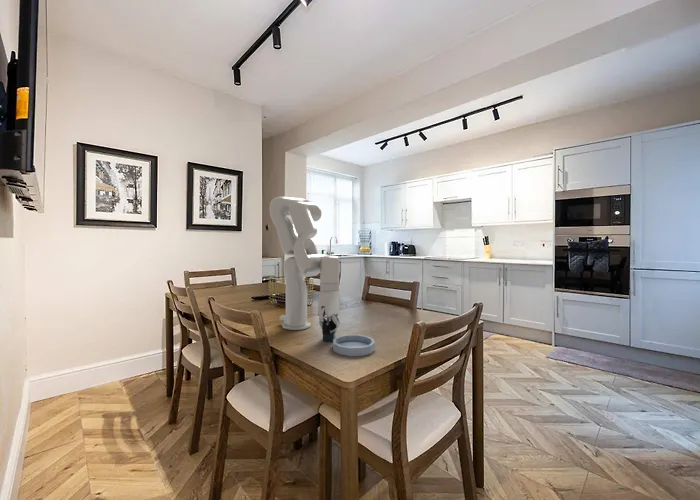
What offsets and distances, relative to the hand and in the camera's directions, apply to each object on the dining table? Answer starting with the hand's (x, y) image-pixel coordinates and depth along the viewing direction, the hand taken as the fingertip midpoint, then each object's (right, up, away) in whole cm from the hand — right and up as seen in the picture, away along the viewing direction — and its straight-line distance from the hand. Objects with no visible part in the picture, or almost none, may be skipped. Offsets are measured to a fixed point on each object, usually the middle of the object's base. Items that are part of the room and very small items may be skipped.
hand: (329, 332), depth 129 cm
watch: (0, -3, 0) cm, 3 cm away
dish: (+10, -3, -10) cm, 14 cm away
